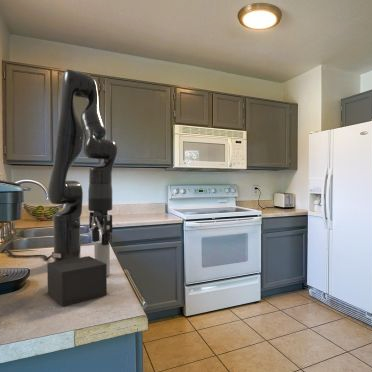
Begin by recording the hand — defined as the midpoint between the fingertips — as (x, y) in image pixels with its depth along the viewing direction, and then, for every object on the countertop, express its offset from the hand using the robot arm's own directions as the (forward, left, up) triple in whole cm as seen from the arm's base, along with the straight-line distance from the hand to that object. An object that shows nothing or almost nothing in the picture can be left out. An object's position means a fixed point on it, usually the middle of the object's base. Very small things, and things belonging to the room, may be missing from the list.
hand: (100, 243), depth 109 cm
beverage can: (0, +1, -12) cm, 12 cm away
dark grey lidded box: (+13, -12, -12) cm, 21 cm away
